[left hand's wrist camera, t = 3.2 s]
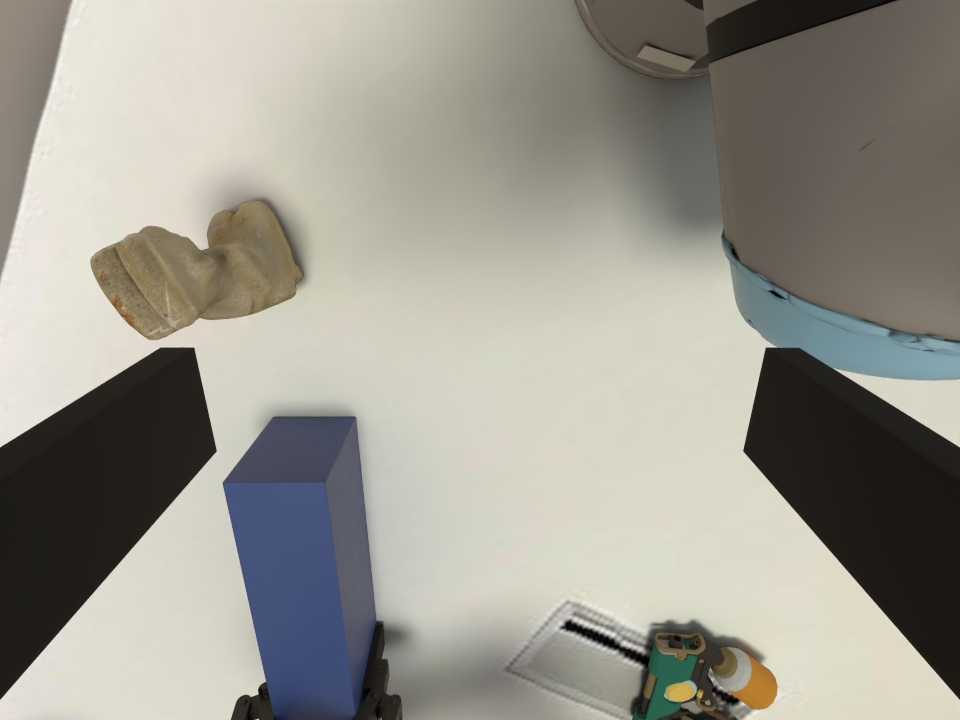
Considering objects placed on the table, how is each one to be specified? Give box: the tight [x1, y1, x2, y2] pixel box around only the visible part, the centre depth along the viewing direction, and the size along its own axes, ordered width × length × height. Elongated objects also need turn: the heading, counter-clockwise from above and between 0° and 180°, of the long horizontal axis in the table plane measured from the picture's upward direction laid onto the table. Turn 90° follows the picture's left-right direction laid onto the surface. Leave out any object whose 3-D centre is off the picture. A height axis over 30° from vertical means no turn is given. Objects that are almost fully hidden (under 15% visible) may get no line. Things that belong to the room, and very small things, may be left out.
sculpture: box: [90, 200, 303, 340], centre depth 32 cm, size 6×7×15 cm
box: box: [223, 417, 376, 720], centre depth 46 cm, size 28×7×10 cm, turn 0°
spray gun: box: [632, 632, 778, 720], centre depth 55 cm, size 4×17×15 cm
